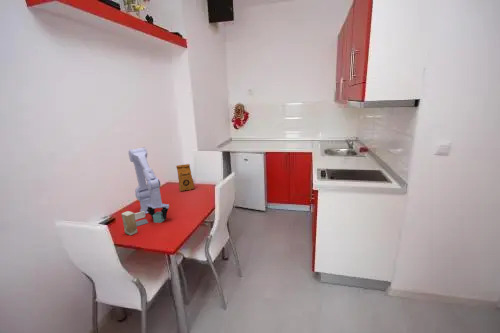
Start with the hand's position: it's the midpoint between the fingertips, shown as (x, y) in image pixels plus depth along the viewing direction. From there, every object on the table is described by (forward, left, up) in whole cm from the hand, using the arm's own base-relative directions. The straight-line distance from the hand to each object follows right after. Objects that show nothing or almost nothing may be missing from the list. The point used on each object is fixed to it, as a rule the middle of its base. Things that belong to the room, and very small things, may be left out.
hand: (159, 218), depth 151 cm
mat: (-5, -10, -1) cm, 11 cm away
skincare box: (+4, -17, -2) cm, 18 cm away
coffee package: (-45, +34, -2) cm, 56 cm away
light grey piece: (-6, -12, -1) cm, 13 cm away
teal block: (0, 0, -2) cm, 2 cm away
